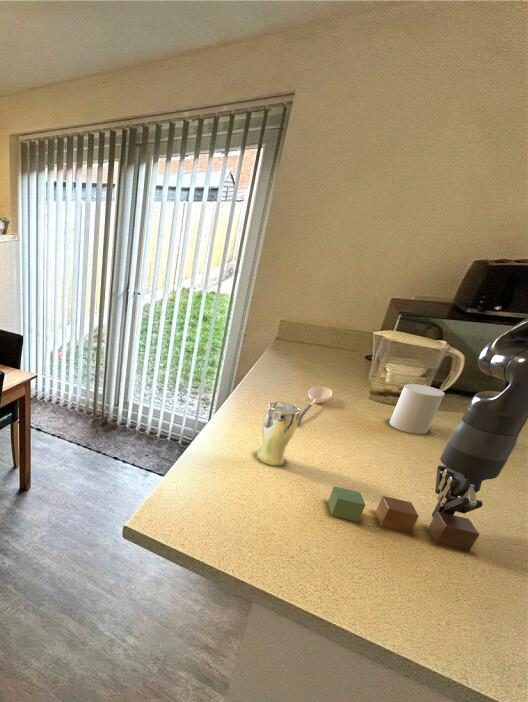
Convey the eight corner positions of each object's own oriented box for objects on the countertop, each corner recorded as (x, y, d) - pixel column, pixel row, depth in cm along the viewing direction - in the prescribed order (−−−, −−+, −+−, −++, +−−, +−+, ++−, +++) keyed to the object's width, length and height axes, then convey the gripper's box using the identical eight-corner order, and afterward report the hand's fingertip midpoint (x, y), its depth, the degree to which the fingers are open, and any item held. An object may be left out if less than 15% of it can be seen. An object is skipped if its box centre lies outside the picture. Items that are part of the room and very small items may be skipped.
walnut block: (458, 536, 76) (468, 518, 75) (468, 552, 73) (479, 534, 71) (427, 528, 78) (436, 510, 77) (436, 543, 75) (445, 525, 73)
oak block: (403, 519, 81) (411, 502, 79) (410, 533, 77) (419, 516, 75) (375, 512, 83) (382, 495, 81) (380, 526, 79) (388, 508, 77)
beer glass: (271, 450, 105) (285, 399, 99) (292, 464, 99) (308, 412, 93) (248, 452, 104) (261, 402, 98) (268, 468, 98) (283, 415, 92)
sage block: (353, 508, 84) (360, 492, 82) (358, 522, 80) (365, 505, 78) (327, 502, 86) (333, 486, 84) (331, 515, 82) (337, 498, 80)
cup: (433, 435, 110) (451, 397, 105) (397, 431, 113) (413, 393, 108) (418, 422, 117) (434, 386, 112) (384, 418, 120) (398, 382, 115)
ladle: (333, 397, 132) (337, 385, 129) (303, 438, 117) (307, 426, 115) (312, 391, 136) (315, 379, 134) (280, 430, 121) (283, 418, 119)
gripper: (528, 472, 65) (480, 549, 72) (489, 435, 76) (451, 506, 83) (465, 460, 68) (426, 535, 75) (437, 426, 79) (404, 495, 86)
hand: (439, 519), depth 79 cm, fingers closed
